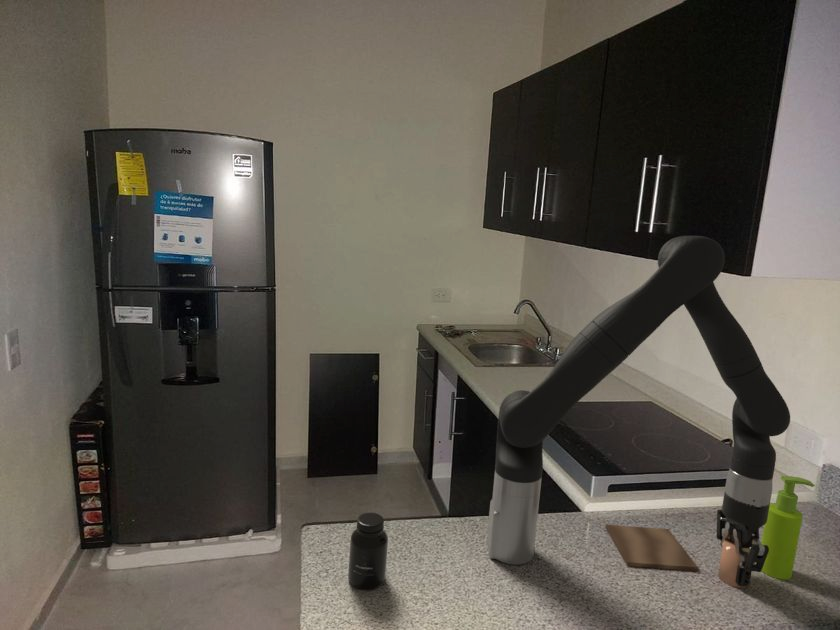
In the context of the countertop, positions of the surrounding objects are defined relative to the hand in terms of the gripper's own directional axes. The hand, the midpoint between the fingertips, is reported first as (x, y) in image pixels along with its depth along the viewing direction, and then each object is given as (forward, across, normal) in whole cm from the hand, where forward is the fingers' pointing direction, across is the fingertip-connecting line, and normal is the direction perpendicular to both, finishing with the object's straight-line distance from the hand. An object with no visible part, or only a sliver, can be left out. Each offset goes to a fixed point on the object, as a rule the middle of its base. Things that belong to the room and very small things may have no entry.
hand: (733, 575), depth 107 cm
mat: (+1, -9, -13) cm, 16 cm away
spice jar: (+1, 0, 0) cm, 1 cm away
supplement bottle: (+1, +8, -71) cm, 71 cm away
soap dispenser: (+1, -4, +11) cm, 12 cm away
